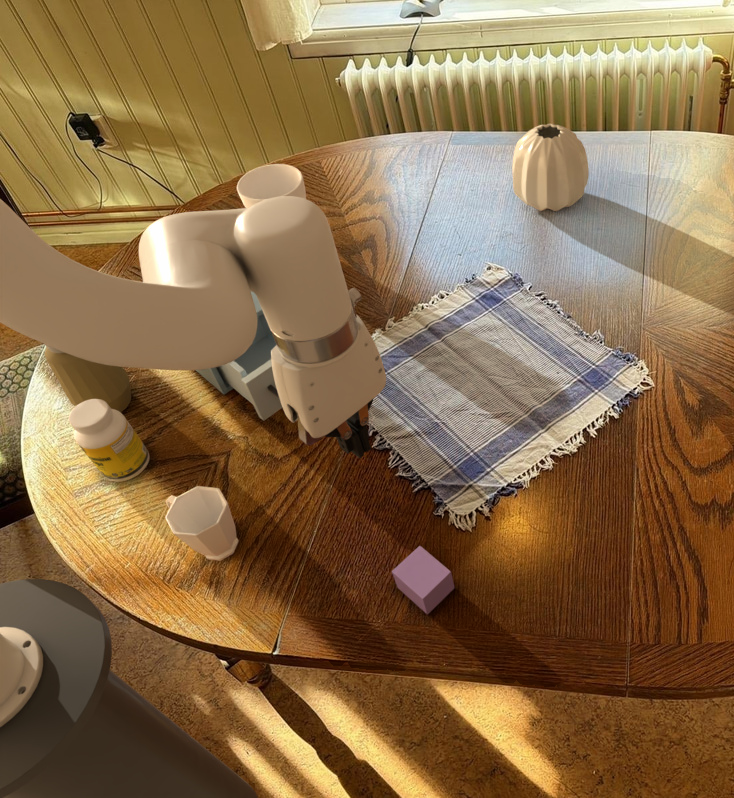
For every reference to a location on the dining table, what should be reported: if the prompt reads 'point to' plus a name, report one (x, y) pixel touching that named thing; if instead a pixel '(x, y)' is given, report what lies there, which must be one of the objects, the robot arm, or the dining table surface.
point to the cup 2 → (270, 183)
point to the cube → (423, 579)
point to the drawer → (255, 372)
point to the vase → (549, 168)
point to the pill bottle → (108, 440)
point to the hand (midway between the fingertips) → (356, 447)
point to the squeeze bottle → (90, 379)
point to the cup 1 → (203, 522)
